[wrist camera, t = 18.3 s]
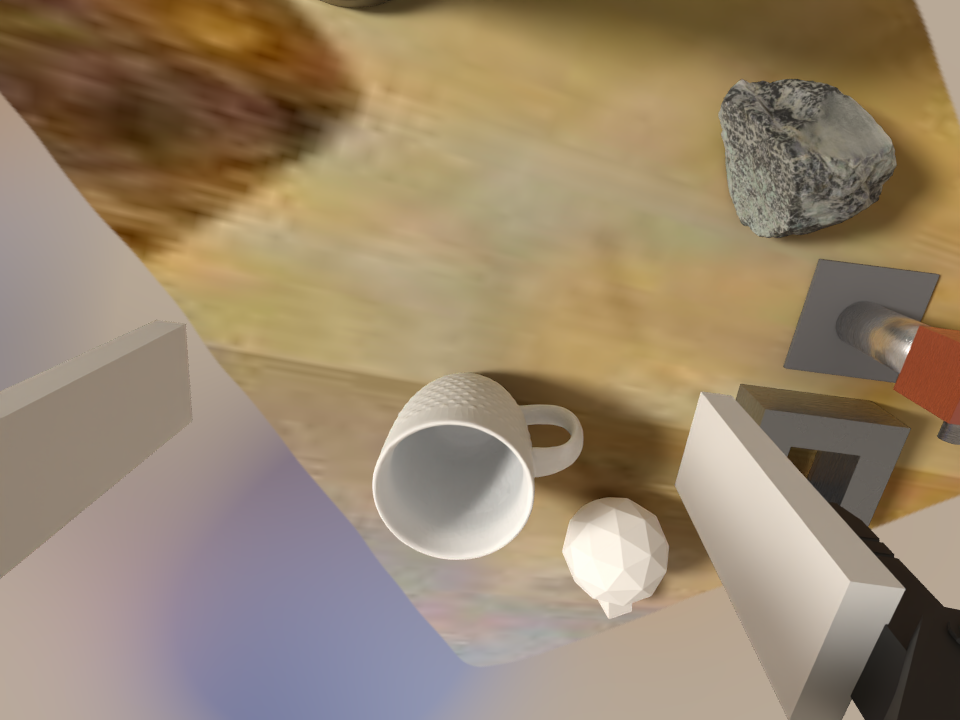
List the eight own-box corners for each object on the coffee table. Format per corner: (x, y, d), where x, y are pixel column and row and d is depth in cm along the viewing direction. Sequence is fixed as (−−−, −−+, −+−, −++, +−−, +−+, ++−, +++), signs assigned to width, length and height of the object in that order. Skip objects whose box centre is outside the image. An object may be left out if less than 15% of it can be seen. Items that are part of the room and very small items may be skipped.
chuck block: (740, 383, 47) (765, 409, 42) (871, 401, 47) (910, 428, 42) (706, 494, 51) (726, 528, 46) (827, 510, 51) (859, 546, 46)
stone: (754, 178, 32) (940, 178, 31) (736, 48, 35) (903, 45, 35) (703, 263, 41) (846, 264, 40) (692, 152, 44) (824, 152, 44)
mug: (567, 337, 46) (586, 402, 34) (580, 452, 50) (602, 548, 38) (394, 360, 48) (353, 431, 36) (419, 470, 52) (389, 568, 40)
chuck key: (849, 270, 43) (996, 320, 30) (906, 277, 43) (1079, 330, 30) (815, 366, 46) (936, 451, 33) (869, 373, 46) (1012, 461, 32)
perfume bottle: (545, 488, 49) (553, 583, 55) (590, 563, 41) (594, 666, 47) (634, 463, 51) (633, 558, 56) (694, 531, 43) (686, 634, 49)
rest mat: (819, 258, 43) (821, 259, 43) (936, 273, 43) (939, 274, 43) (783, 366, 46) (785, 368, 46) (892, 380, 46) (895, 382, 46)
